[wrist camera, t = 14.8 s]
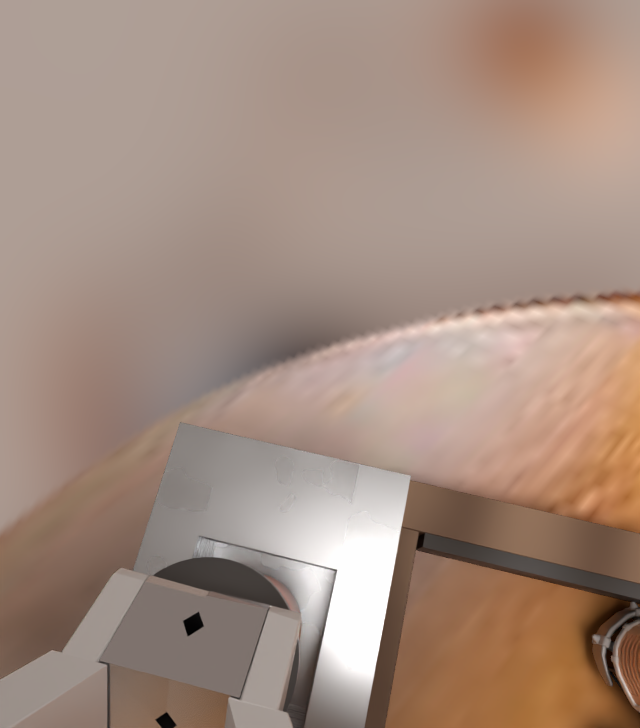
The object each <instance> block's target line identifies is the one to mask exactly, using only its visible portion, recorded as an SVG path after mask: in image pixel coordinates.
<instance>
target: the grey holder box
mask: <svg viewBox="0 0 640 728" xmlns="http://www.w3.org/2000/svg"><path fill="white" fill-rule="evenodd" d="M410 478H411V476H409V475H405V474H401V473H396V472H392V471H388V470H384V469H379V468H375V467H371V466H366V465H362V464H358V463H353V462H349V461H345V460H341V459H336V458H332V457H328V456H323V455H319V454H315V453H310V452H306V451H302V450H297V449H293V448H289V447H285V446H280V445H276V444H272V443H267V442H263V441H259V440H254V439H250V438H246V437H241V436H237V435H233V434H229V433H224V432H220V431H216V430H211V429H207V428H203V427H198V426H194V425H190V424H186V423H181V422H180V424H179V427H178V431H177V434H176V437H175V440H174V443H173V446H172V449H171V453H170V456H169V459H168V462H167V465H166V468H165V471H164V474H163V478H162V481H161V484H160V487H159V490H158V493H157V496H156V500H155V503H154V506H153V509H152V512H151V515H150V518H149V521H148V525H147V528H146V531H145V534H144V537H143V540H142V543H141V547H140V550H139V553H138V556H137V559H136V562H135V565H134V569H133V571H136V572H140V573H143V574H147V575H152V576H153V575H154V574H155V573H157V572H158V571H160V570H162V569H164V568H166V567H168V566H169V565H172V564H175V563H177V562H180V561H183V560H188V559H192V558H200V557H217V558H223V559H229V560H233V561H236V562H239V563H243V564H245V565H247V566H249V567H251V568H253V569H255V570H257V571H258V572H260V573H261V574H263V575H267V576H270V577H273V578H275V579H277V580H278V581H280V582H281V583H282V584H284V585H285V586H286V587H287V588H288V589H289V590H290V592H291V593H292V594H293V596H294V598H295V599H296V602H297V604H298V606H299V609H300V613H302V631H301V638H300V641H299V644H300V665H299V671H298V677H297V681H296V685H295V688H294V692H293V695H292V698H291V701H290V703H289V706H288V708H287V710H286V712H287V713H288V714H289V717H290V719H291V722H292V725H293V728H364V727H365V721H366V716H367V711H368V705H369V700H370V694H371V689H372V683H373V678H374V673H375V667H376V662H377V656H378V651H379V646H380V640H381V635H382V629H383V624H384V619H385V613H386V608H387V602H388V597H389V591H390V586H391V581H392V575H393V570H394V564H395V559H396V554H397V548H398V543H399V537H400V532H401V527H402V521H403V516H404V510H405V505H406V499H407V494H408V489H409V483H410Z"/></svg>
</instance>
